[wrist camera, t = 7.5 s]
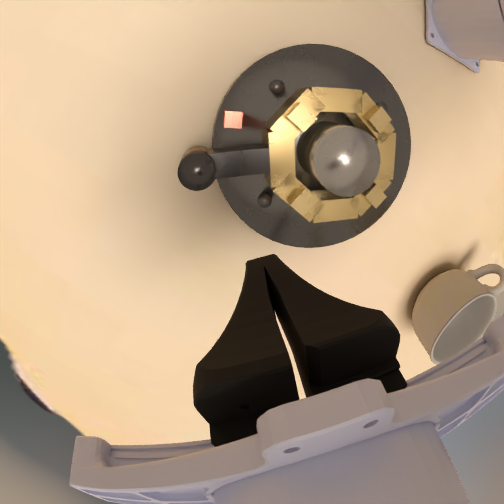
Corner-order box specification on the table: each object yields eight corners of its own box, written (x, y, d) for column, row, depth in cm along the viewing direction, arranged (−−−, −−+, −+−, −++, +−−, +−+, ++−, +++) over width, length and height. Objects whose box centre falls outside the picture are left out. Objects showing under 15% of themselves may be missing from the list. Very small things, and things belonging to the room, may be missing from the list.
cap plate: (221, 32, 15) (226, 11, 11) (413, 77, 18) (455, 79, 13) (208, 239, 23) (209, 276, 18) (380, 242, 26) (409, 272, 21)
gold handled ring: (379, 93, 17) (404, 95, 15) (375, 204, 22) (395, 219, 19) (173, 97, 16) (167, 96, 13) (192, 225, 21) (190, 245, 18)
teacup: (411, 335, 35) (438, 376, 28) (390, 298, 30) (426, 346, 23) (478, 275, 32) (511, 307, 25) (470, 224, 27) (515, 258, 20)
